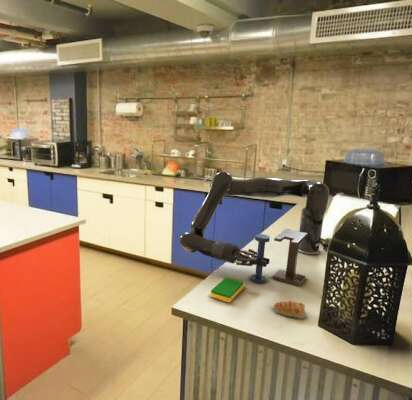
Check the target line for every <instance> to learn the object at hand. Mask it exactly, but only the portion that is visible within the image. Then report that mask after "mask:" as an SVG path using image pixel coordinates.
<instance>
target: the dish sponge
mask: <svg viewBox="0 0 412 400" xmlns="http://www.w3.org/2000/svg"><path fill="white" fill-rule="evenodd" d="M244 288H245V282H244V281H242V280H237V279H233V278H230V277H224V278H223V279H222V280H221V281H220V282H218V283H217V284H216V285H215V286H214V287H213V288H212V289H211V290H210V297H211V298H214V299H217V300H220V301H223V302H226V303H231V302H232V301H233V300H234V299H235V297H237V295H239V293H240V292H241V291H242V290H244Z"/></svg>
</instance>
